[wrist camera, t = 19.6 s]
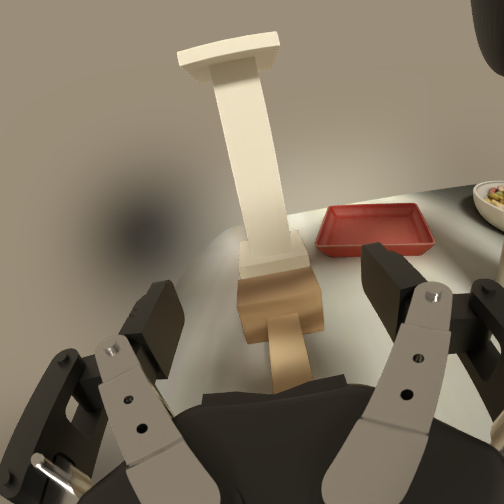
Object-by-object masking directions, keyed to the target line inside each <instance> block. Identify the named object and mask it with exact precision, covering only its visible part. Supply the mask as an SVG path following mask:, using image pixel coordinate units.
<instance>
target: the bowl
mask: <svg viewBox="0 0 504 504" xmlns="http://www.w3.org/2000/svg"><path fill="white" fill-rule="evenodd" d="M473 198H474V203H475V206H476V208H477V210H478V211H479V213H480V214H481V215H482V217H483V218H484V219H485V220H486V221H488V222H489V223H490V224H491V225H493V226H494V227H496V228H497V229H499V230H501V231H503V232H504V181H488V182H483V183H480V184H478V185H476V186H475V187H474V189H473Z"/></svg>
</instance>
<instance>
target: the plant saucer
mask: <svg viewBox="0 0 504 504" xmlns="http://www.w3.org/2000/svg"><path fill="white" fill-rule="evenodd" d="M374 242H380V243H381V244H382V245H383V246H384V247H385V248H386V249H387V250H388V251H394V252H396V253H398V254H401V255H402V256H419V255H422V254H423V253H425V252H426V251H427V250H429V249H430V248H431V247H432V246H433V245H434V244H435V240H434V237H433V235H432V233H431V231H430V229H429V227H428V225H427V223H426V221H425V219H424V217H423V215H422V213H421V212H420V210H419V208H418V206H417V204H415V203H392V204H358V205H337V206H329V207H328V208H327V211H326V214H325V217H324V220H323V223H322V225H321V228H320V231H319V233H318V236H317V238H316V241H315V246H316V247H317V248H318V249H319V250H320V251H322V252H323V253H324V254H326V255H328V256H330V257H361V246H362V245H364V244H369V243H374Z"/></svg>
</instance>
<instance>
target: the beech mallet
mask: <svg viewBox="0 0 504 504" xmlns="http://www.w3.org/2000/svg"><path fill="white" fill-rule="evenodd" d="M237 309H238V313H239V316H240V319H241V323H242V326H243V330H244V333H245V336H246V340H247V343H248V344H252V343H259V342H265V341H269V349H270V360H271V371H272V383H273V394H277V393H279V392H282V391H285V390H288V389H290V388H293V387H296V386H298V385H301V384H303V383H306V382H308V381H313V377H312V373H311V368H310V364H309V360H308V355H307V351H306V347H305V342H304V338H303V334H308V333H313V332H318V331H323V330H324V319H323V307H322V295H321V289H320V287H319V284H318V282H317V280H316V277H315V275H314V272H313V270H312V268H311V266H309V267H304V268H299V269H294V270H289V271H284V272H279V273H273V274H268V275H263V276H257V277H252V278H247V279H241V280H238V293H237Z"/></svg>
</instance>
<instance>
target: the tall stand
mask: <svg viewBox="0 0 504 504" xmlns="http://www.w3.org/2000/svg"><path fill="white" fill-rule="evenodd" d="M279 47H280V43H279V39H278V35H277V32H276V31H275V32H268V33H261V34H254V35H248V36H242V37H237V38H232V39H227V40H223V41H218V42H213V43H209V44H205V45H201V46H198V47H194V48H190V49H187V50H183V51H180V52H177V56H178V61H179V65H180V67H181V68H182V69H183V70H185V71H186V72H187V73H188V74H189V75H191V76H192V77H193V78H194V79H195V80H196V81H197V82H198V83H204V82H208V81H212V82H213V87H214V91H215V96H216V100H217V105H218V109H219V114H220V117H221V122H222V127H223V132H224V136H225V140H226V145H227V149H228V154H229V158H230V163H231V167H232V172H233V176H234V180H235V185H236V189H237V194H238V198H239V203H240V207H241V211H242V215H243V220H244V225H245V229H246V234H247V238H248V240H243V241H241V242H240V254H239V266H238V268H239V272H240V276H241V279H247V278H252V277H257V276H263V275H268V274H273V273H279V272H284V271H289V270H294V269H299V268H304V267H309V266H310V263H309V255H308V253H307V250H306V248H305V246H304V243H303V241H302V239H301V236H300V234H299V232H298V230H296V231H291V232H289V226H288V220H287V214H286V208H285V203H284V197H283V191H282V186H281V181H280V175H279V170H278V164H277V159H276V154H275V149H274V144H273V139H272V134H271V129H270V124H269V120H268V116H267V110H266V106H265V101H264V96H263V92H262V88H261V83H260V79H259V74H258V71H260V70H268V69H272V66H273V64H274V61H275V58H276V55H277V53H278V50H279Z"/></svg>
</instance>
